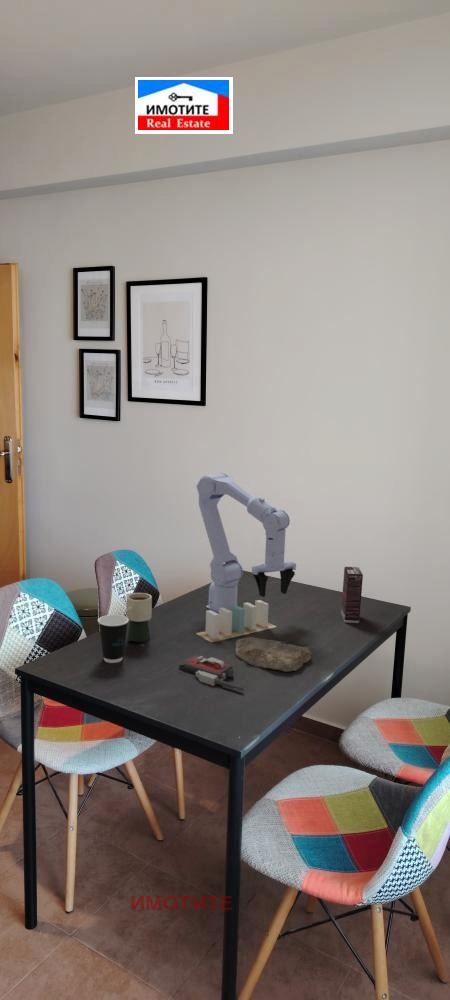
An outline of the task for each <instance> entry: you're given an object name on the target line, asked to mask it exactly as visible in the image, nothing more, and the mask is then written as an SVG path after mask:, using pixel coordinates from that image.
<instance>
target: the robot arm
mask: <svg viewBox="0 0 450 1000" xmlns="http://www.w3.org/2000/svg"><path fill="white" fill-rule="evenodd" d="M196 489H197V493H198V506H199V510H200V513H201V517H202V521H203V524H204V527H205V530H206V535H207V537H208V542H209V545H210V548H211V552H212V555H213V557H212V560H211V561H210V563H209V565H210V566H209V567H210V578H211V581H212V582H211V583H210V585H209V588H208V605H206V606H205V607H206V608H207V609H210V610H212V611H214V612H216V613H218V614H219V608H223V607H224V608H226V609H228V610H230V611H231V606H233V605H237V606H238V587H239V586H238V584H239V581H240V579H241V578H242V577H243V573H244V572H243V571H244V569H243V566H242V564H241V563H240V562H239V560H238V558H237V556H236V555H235V554H234V553H232V552H231V550H230V546H229V543H228V540H227V536H226V533H225V528H224V525H223V521H222V519H221V516H220V512H219V508H218V504H219V502H220V500H221V499H222V497H223V498H224V496H225V495H228V496H229V497H231V498H233V499H234V500H236V501H237V502H239V503H240V504H242V505H243V506H244V507H246V512H247V513H248V514H250V515H251V516H252V517H253V518H254V519H256V520H258V521H259V522H260V523H261V524H262V526H263V529H264V530H265V534H264V535H265V550H264V551H265V554H264V556H265V558H264V563H262V564H259V565H255V566H252V567H251V574H252V576H253V577H254V579H255V582H256V585H257V590H258V594H259V596H260V597H262V598H265V597H266V592H267V591H266V587H267V582H268V578H269V576H267V575H266V574H265V573H274V572H275V573H276V572H279V575H280V592H281V593H282V594H283V595H286V594H287V593H288V592H287V591H288V589H289V586H290V583H291V581H292V580H293V578H294V576H295V575H296V573H295V572H296V571H295V570H297V563H295V562H292V561H291V562H285V550H286V548H285V546H286V529H287V528H288V527H289V525H290V523H291V522H290V521H291V520H290V516H289V515H288V513H287V512H286V511H285V510H282V509H279V510H277V508H276V507H275V506H271V505H270V504H269V503H268V502H266V501H265V498H263V497H258V496H257V497H253V496H252V495H251V494H250V493H248V492H247V491H246V490H244V488H242V487H240V485H238V484H237V483H236V482H235V481H234V478H233V477H231V476H229V475H228V474H226V473H223V472H221V473H219V474H213V475H212V474H211V475H203V476H202V477H200V479H199V480H198V483H197V484H196Z"/></svg>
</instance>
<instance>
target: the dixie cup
mask: <svg viewBox="0 0 450 1000" xmlns="http://www.w3.org/2000/svg"><path fill="white" fill-rule="evenodd" d="M129 621H130V620H129V619H128V618H127V617H126V615H121V614H107V615H103V616H100V617H99V618H98V619H97V622H98V624H99V634H100V642H101V650H102V651H101V653H102V657H103V660H104V662H106V663H109V664H114V663H115V664H116V663H120V662H122V661H123V657H124V655H125V647H126V646H125V645H126V639H127V631H128V623H129Z"/></svg>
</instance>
